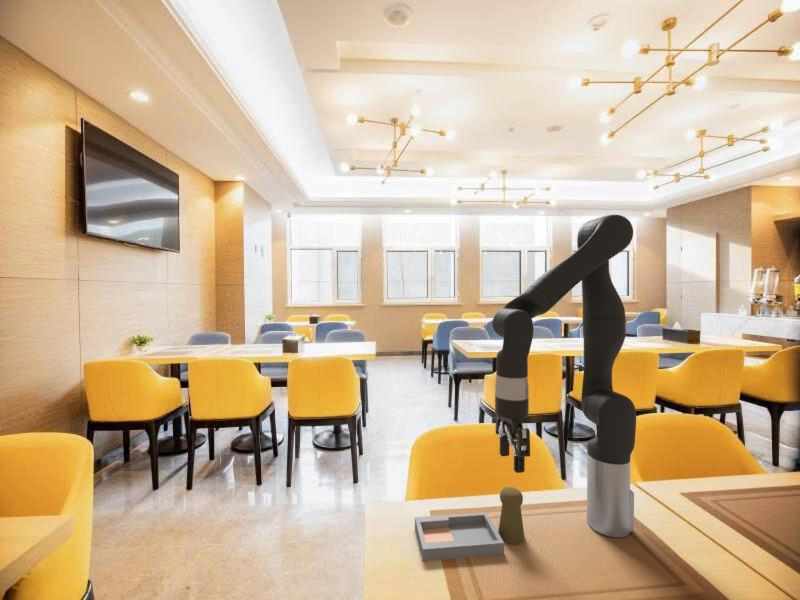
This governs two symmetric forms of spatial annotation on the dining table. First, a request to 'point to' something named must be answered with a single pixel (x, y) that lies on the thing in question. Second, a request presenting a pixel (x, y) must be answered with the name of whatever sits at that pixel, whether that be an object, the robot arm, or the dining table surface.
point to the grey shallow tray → (457, 536)
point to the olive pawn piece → (511, 516)
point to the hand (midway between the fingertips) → (511, 463)
